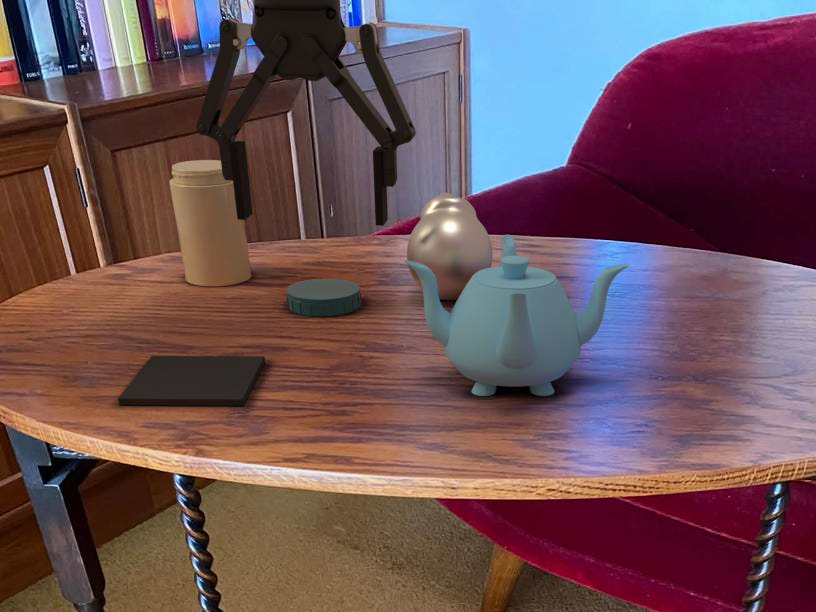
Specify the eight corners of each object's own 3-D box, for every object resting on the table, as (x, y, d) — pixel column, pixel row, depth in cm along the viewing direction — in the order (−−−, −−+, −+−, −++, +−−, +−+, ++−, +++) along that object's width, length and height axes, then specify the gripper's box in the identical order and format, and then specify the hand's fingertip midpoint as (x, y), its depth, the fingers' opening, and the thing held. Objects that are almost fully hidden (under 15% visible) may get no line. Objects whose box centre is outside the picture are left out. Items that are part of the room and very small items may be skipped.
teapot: (405, 380, 82) (400, 257, 76) (511, 343, 90) (513, 229, 84) (515, 422, 75) (519, 290, 69) (620, 379, 83) (631, 256, 77)
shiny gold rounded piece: (501, 288, 105) (504, 189, 99) (480, 314, 97) (480, 208, 91) (422, 282, 106) (420, 183, 100) (395, 306, 99) (390, 202, 93)
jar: (178, 286, 104) (158, 171, 98) (194, 268, 110) (176, 158, 103) (244, 286, 104) (229, 171, 98) (256, 269, 110) (243, 159, 103)
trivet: (118, 405, 77) (117, 398, 77) (152, 361, 85) (151, 355, 85) (243, 406, 77) (242, 399, 77) (265, 362, 85) (264, 356, 85)
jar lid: (367, 295, 102) (366, 279, 101) (353, 318, 96) (352, 300, 95) (297, 293, 102) (295, 277, 101) (279, 315, 96) (277, 298, 95)
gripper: (443, -43, 84) (443, 216, 97) (165, -50, 86) (201, 206, 98) (433, -42, 78) (434, 233, 91) (134, -50, 80) (175, 222, 92)
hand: (313, 220), depth 94 cm, fingers open, 13 cm apart
